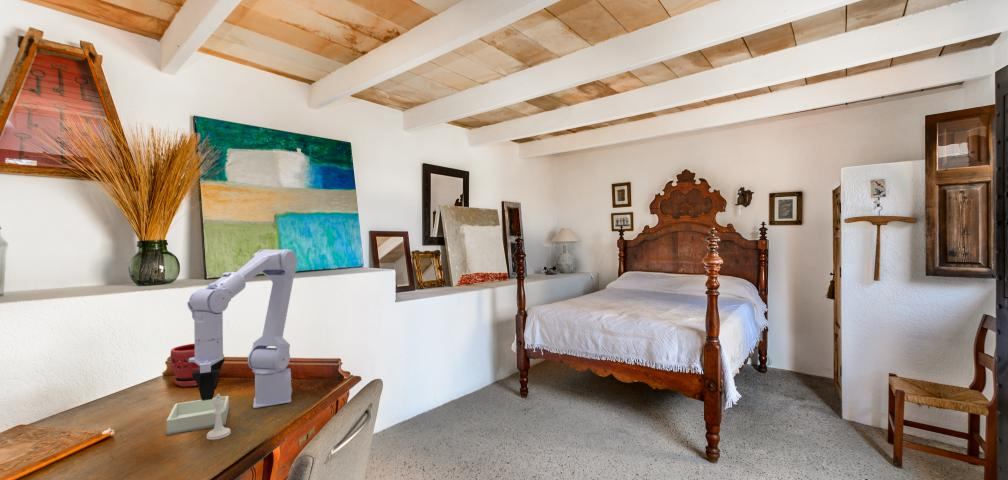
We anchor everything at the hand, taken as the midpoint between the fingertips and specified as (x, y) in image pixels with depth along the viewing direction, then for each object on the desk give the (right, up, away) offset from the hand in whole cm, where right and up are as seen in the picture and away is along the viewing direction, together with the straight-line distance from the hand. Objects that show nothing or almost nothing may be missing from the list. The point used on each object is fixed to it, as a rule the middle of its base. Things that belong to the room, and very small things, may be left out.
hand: (209, 394), depth 108 cm
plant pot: (-29, -9, +38) cm, 49 cm away
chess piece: (+3, -10, -1) cm, 10 cm away
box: (-7, -9, +7) cm, 14 cm away
